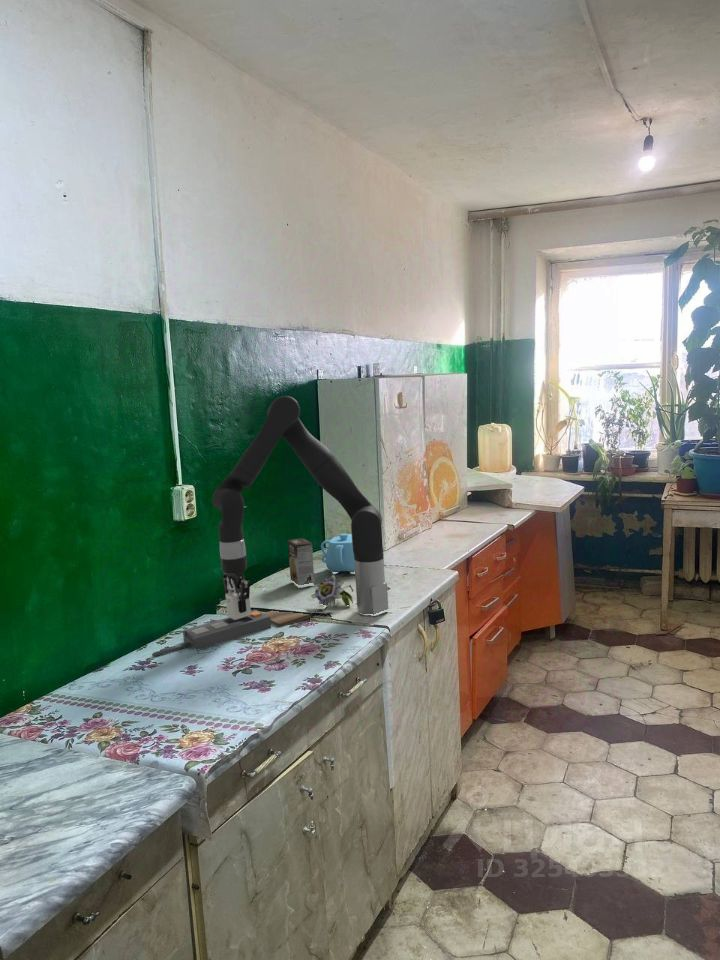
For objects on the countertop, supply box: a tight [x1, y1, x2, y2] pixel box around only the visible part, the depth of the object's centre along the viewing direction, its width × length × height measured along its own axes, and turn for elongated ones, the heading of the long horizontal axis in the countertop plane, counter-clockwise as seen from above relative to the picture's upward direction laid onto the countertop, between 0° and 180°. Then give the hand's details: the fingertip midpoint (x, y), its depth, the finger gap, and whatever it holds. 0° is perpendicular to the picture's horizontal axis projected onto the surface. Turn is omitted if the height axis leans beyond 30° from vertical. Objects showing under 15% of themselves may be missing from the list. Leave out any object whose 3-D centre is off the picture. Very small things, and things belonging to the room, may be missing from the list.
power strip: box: [151, 609, 272, 657], centre depth 200 cm, size 9×35×4 cm, turn 127°
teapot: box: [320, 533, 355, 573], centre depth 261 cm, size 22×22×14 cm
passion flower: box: [310, 574, 354, 608], centre depth 223 cm, size 11×11×12 cm
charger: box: [220, 592, 252, 620], centre depth 204 cm, size 4×8×7 cm, turn 127°
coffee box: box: [287, 537, 315, 585], centre depth 247 cm, size 9×6×16 cm
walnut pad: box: [263, 610, 310, 628], centre depth 215 cm, size 12×12×1 cm
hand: (238, 609), depth 205 cm, fingers closed on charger, 4 cm apart
